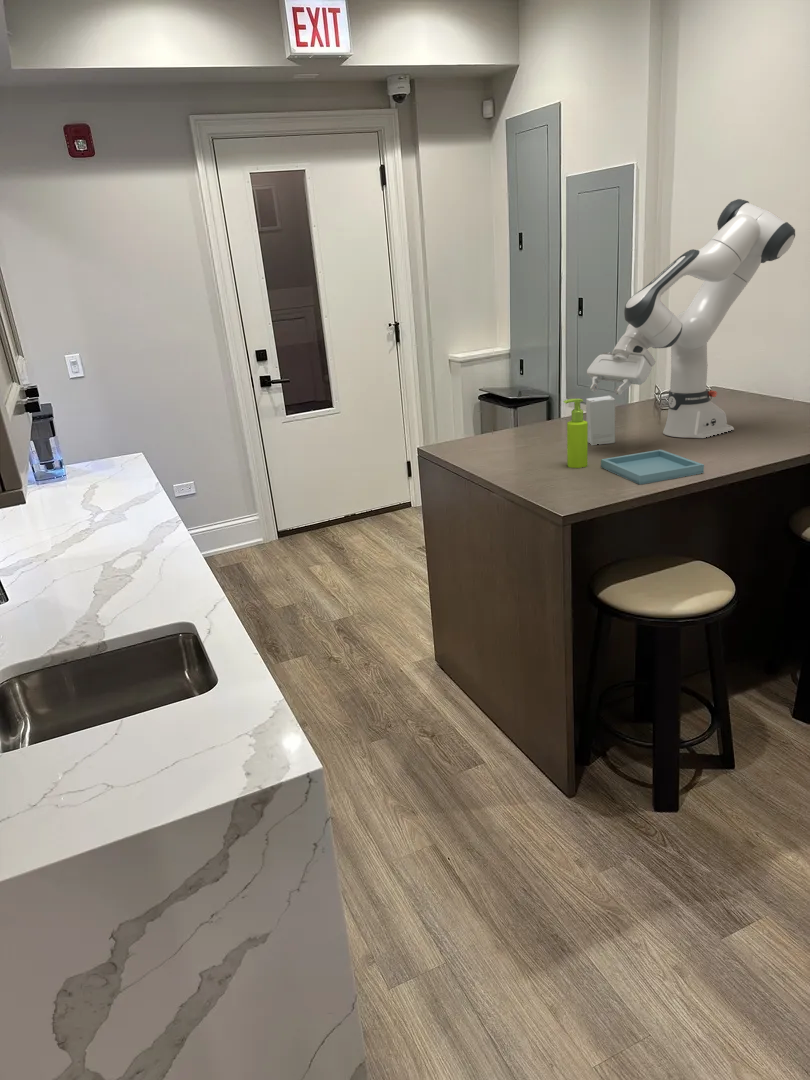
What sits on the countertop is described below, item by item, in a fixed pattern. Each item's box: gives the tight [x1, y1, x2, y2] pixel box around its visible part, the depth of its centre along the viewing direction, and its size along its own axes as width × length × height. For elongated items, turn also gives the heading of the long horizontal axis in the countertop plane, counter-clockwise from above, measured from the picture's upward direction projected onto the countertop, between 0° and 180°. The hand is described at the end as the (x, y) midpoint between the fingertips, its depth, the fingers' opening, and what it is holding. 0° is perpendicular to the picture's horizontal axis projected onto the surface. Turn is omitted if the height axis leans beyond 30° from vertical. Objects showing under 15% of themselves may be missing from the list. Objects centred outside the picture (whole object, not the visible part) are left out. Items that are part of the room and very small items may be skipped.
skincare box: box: [585, 395, 616, 446], centre depth 241 cm, size 8×6×15 cm
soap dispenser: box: [562, 398, 589, 469], centre depth 217 cm, size 6×7×20 cm
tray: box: [600, 449, 705, 485], centre depth 209 cm, size 20×20×2 cm
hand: (604, 391), depth 219 cm, fingers open, 8 cm apart
